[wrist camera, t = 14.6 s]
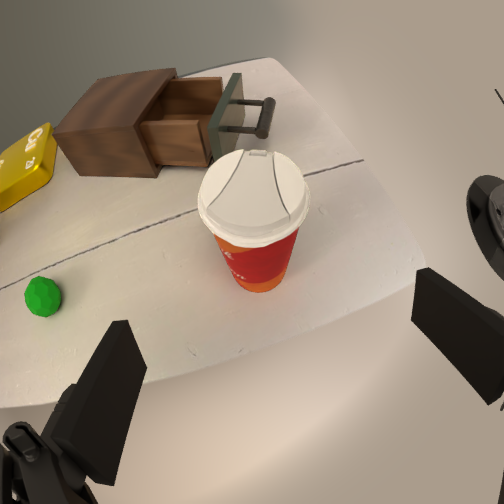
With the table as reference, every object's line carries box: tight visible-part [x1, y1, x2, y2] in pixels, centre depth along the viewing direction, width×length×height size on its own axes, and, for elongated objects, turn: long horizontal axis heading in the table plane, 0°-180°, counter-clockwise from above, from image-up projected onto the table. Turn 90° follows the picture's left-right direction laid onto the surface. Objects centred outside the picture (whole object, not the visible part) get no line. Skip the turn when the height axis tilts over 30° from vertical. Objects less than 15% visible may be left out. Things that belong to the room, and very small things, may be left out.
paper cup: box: [198, 149, 310, 293], centre depth 25 cm, size 8×8×14 cm
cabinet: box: [51, 68, 178, 178], centre depth 37 cm, size 15×14×10 cm
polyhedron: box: [24, 276, 61, 317], centre depth 28 cm, size 5×5×5 cm
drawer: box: [138, 73, 276, 167], centre depth 35 cm, size 19×13×8 cm
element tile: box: [0, 123, 57, 212], centre depth 40 cm, size 15×15×5 cm
